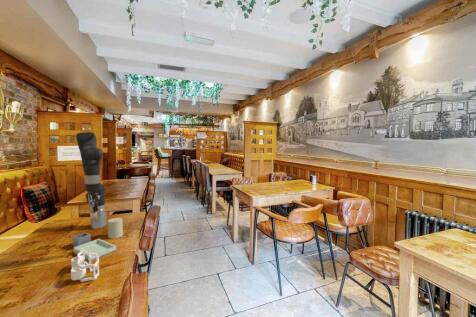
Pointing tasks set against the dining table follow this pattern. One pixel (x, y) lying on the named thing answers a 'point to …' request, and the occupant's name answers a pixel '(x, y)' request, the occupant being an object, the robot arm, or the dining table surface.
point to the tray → (95, 248)
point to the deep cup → (81, 239)
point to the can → (115, 228)
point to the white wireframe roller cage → (84, 266)
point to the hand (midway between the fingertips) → (93, 211)
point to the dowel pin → (92, 214)
